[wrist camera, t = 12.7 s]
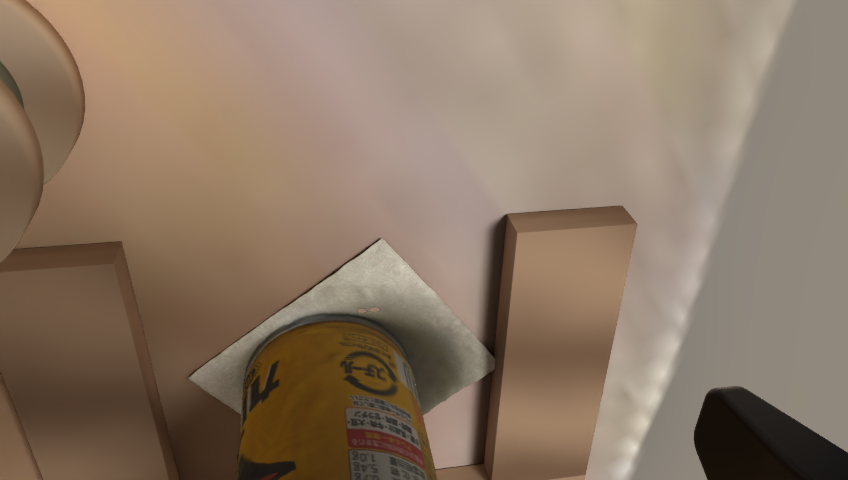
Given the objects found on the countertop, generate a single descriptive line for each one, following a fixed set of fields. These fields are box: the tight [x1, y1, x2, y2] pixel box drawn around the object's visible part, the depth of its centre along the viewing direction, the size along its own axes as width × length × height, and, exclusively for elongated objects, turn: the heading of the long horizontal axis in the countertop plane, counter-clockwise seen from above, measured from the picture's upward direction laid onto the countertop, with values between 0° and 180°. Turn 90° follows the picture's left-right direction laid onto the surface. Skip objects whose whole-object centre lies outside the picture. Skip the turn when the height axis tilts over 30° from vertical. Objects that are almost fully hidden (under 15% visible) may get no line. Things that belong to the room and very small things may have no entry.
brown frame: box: [0, 206, 637, 480], centre depth 26 cm, size 16×20×1 cm
